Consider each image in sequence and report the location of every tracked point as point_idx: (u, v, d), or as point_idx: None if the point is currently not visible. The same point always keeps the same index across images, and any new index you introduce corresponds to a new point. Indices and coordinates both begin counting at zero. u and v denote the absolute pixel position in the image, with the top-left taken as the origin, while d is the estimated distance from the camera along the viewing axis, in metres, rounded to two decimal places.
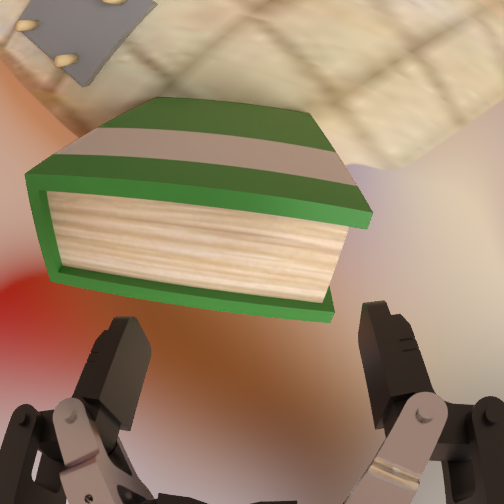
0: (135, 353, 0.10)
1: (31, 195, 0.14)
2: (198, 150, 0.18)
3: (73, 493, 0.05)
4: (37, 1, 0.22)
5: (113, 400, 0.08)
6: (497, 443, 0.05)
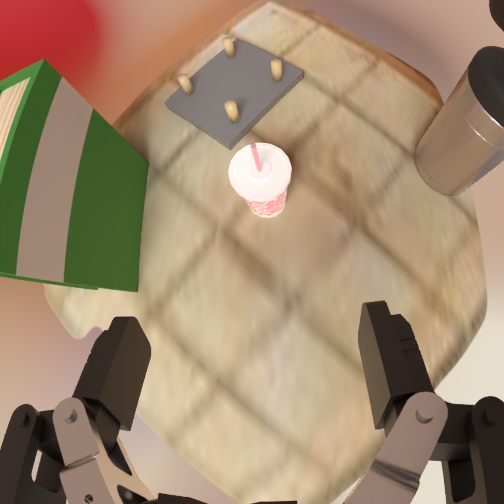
0: (135, 353, 0.10)
1: (33, 65, 0.19)
2: (48, 170, 0.22)
3: (73, 493, 0.05)
4: (253, 52, 0.41)
5: (113, 400, 0.08)
6: (497, 443, 0.05)
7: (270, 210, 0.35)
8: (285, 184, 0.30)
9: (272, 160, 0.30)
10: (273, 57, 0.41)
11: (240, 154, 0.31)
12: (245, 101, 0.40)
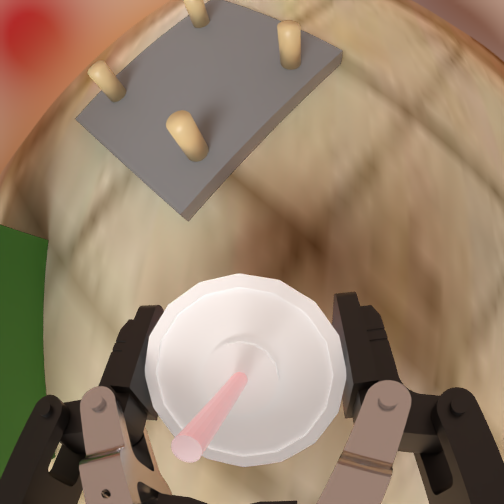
0: None
1: None
2: None
3: (90, 486, 0.05)
4: (243, 17, 0.20)
5: (142, 388, 0.09)
6: (468, 433, 0.05)
7: None
8: (322, 427, 0.08)
9: (285, 345, 0.09)
10: None
11: (180, 312, 0.09)
12: (221, 110, 0.19)
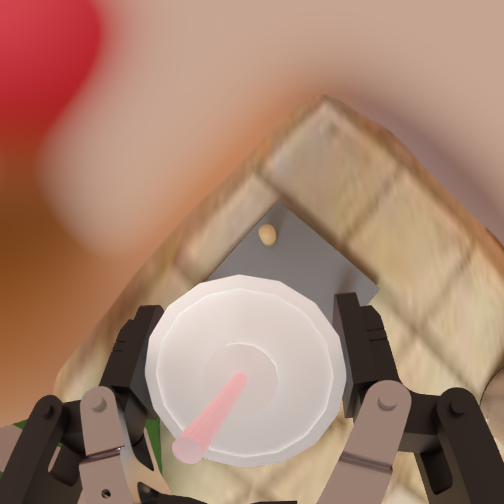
0: None
1: None
2: None
3: (90, 486, 0.05)
4: (305, 240, 0.30)
5: (142, 388, 0.09)
6: (468, 433, 0.05)
7: None
8: (322, 428, 0.08)
9: (285, 346, 0.09)
10: (336, 255, 0.30)
11: (180, 313, 0.09)
12: None
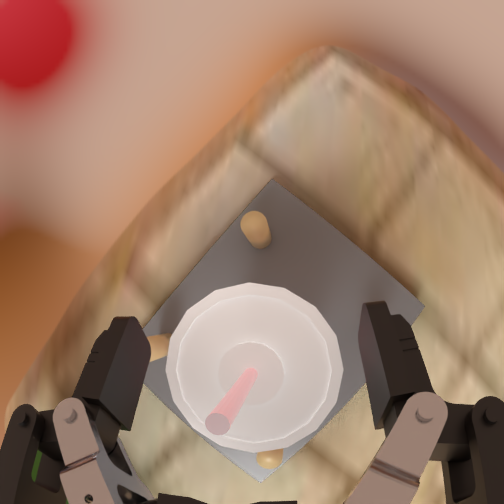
0: (135, 353, 0.10)
1: None
2: None
3: (73, 493, 0.05)
4: (315, 236, 0.20)
5: (113, 400, 0.08)
6: (497, 443, 0.05)
7: None
8: (322, 416, 0.10)
9: (289, 344, 0.10)
10: (362, 258, 0.19)
11: (197, 316, 0.11)
12: None
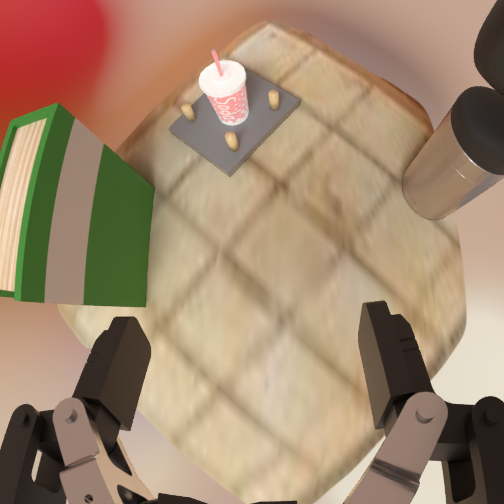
0: (135, 353, 0.10)
1: (48, 108, 0.23)
2: (67, 207, 0.26)
3: (73, 493, 0.05)
4: (252, 79, 0.46)
5: (113, 400, 0.08)
6: (497, 443, 0.05)
7: (233, 114, 0.41)
8: (240, 83, 0.36)
9: (231, 70, 0.36)
10: (271, 85, 0.45)
11: (208, 68, 0.37)
12: (244, 130, 0.44)
